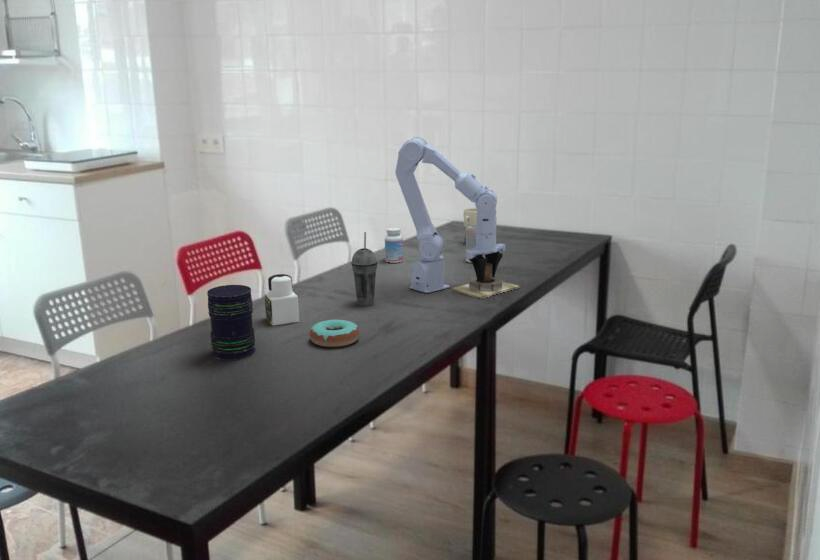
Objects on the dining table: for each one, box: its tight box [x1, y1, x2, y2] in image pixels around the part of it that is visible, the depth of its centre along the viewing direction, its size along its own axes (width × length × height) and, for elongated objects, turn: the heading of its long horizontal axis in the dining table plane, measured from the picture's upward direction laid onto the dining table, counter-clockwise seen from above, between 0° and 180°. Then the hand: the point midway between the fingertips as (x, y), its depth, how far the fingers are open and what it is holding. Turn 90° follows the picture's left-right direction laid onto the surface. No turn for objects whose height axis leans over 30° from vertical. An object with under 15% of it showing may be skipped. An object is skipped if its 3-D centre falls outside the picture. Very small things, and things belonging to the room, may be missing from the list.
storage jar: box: [206, 284, 256, 361], centre depth 173 cm, size 10×10×15 cm
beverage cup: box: [350, 231, 378, 307], centre depth 209 cm, size 7×7×20 cm
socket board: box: [451, 276, 520, 300], centre depth 223 cm, size 16×12×3 cm
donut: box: [309, 319, 360, 348], centre depth 182 cm, size 12×12×4 cm
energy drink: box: [465, 225, 476, 264], centre depth 255 cm, size 5×5×12 cm
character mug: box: [463, 207, 477, 245], centre depth 280 cm, size 11×7×13 cm, turn 144°
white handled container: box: [264, 273, 300, 327], centre depth 196 cm, size 7×7×12 cm
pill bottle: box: [384, 227, 404, 264], centre depth 257 cm, size 6×6×11 cm
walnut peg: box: [478, 262, 492, 283], centre depth 222 cm, size 4×4×6 cm
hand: (485, 278), depth 222 cm, fingers closed on walnut peg, 4 cm apart
